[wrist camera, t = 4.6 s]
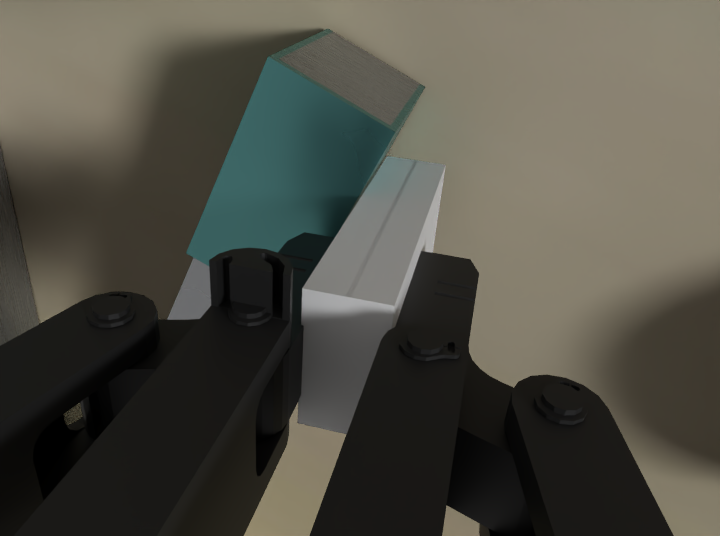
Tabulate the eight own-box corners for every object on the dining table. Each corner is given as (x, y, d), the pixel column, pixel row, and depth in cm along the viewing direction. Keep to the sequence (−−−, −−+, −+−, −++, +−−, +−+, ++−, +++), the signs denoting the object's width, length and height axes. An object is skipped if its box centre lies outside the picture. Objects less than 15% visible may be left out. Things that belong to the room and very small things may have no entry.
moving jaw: (133, 595, 29) (43, 745, 24) (5, 524, 29) (-115, 660, 24) (425, 86, 16) (371, 168, 10) (186, -57, 15) (-2, -54, 10)
